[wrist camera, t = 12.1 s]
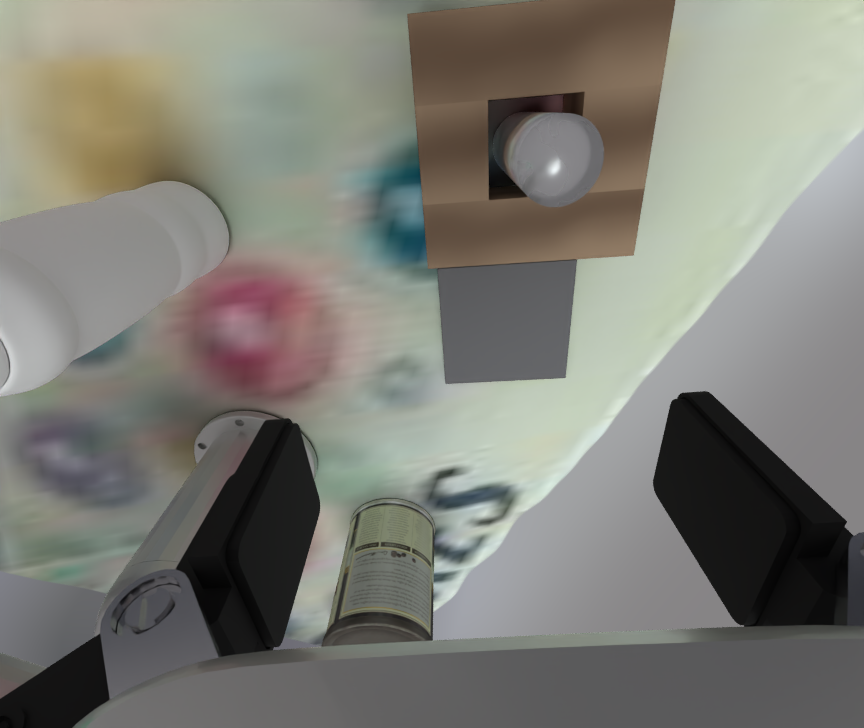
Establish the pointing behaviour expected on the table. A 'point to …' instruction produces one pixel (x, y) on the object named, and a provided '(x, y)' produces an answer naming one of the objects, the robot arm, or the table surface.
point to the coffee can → (385, 577)
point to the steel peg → (549, 155)
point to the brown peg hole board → (522, 78)
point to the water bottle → (97, 273)
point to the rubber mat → (506, 320)
